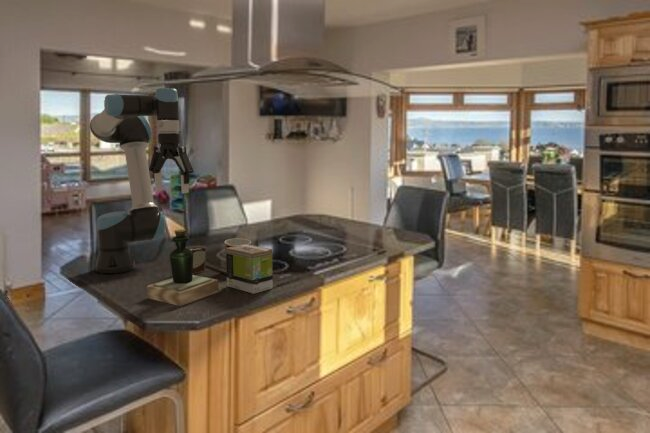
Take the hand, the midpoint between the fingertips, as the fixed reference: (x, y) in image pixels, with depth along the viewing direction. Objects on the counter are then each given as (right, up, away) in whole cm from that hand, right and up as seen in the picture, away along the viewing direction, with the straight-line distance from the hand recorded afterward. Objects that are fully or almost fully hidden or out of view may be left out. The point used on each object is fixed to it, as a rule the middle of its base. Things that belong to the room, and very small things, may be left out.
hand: (171, 191), depth 199 cm
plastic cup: (+20, -31, +26) cm, 45 cm away
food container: (+1, -32, +23) cm, 39 cm away
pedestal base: (+6, -36, -7) cm, 38 cm away
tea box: (+28, -35, +1) cm, 45 cm away
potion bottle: (+6, -32, -8) cm, 33 cm away
